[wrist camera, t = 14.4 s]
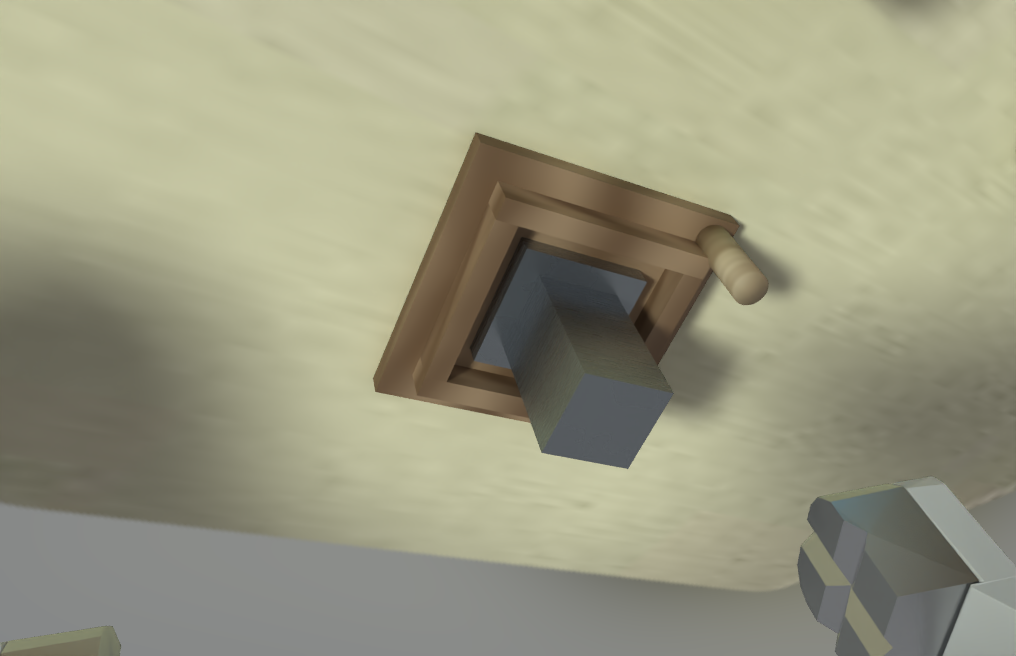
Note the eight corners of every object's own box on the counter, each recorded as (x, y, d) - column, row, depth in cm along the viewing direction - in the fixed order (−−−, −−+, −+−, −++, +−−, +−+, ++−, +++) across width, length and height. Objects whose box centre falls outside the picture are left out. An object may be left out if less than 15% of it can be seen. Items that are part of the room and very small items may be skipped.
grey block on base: (469, 347, 51) (507, 467, 43) (521, 236, 48) (572, 345, 40) (583, 373, 54) (638, 491, 46) (639, 270, 50) (708, 377, 43)
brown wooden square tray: (373, 378, 52) (385, 453, 47) (475, 132, 45) (503, 189, 40) (608, 426, 58) (641, 498, 53) (730, 215, 51) (781, 274, 46)
